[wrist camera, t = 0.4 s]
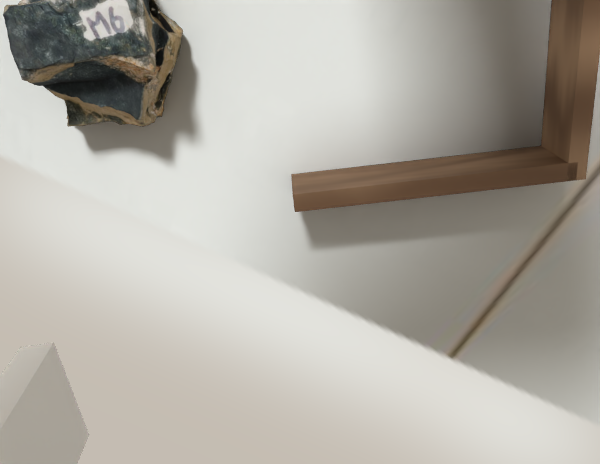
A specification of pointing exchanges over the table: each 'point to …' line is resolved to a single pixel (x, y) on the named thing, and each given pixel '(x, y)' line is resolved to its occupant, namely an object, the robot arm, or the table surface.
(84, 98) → the rock
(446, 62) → the table surface
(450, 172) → the box
